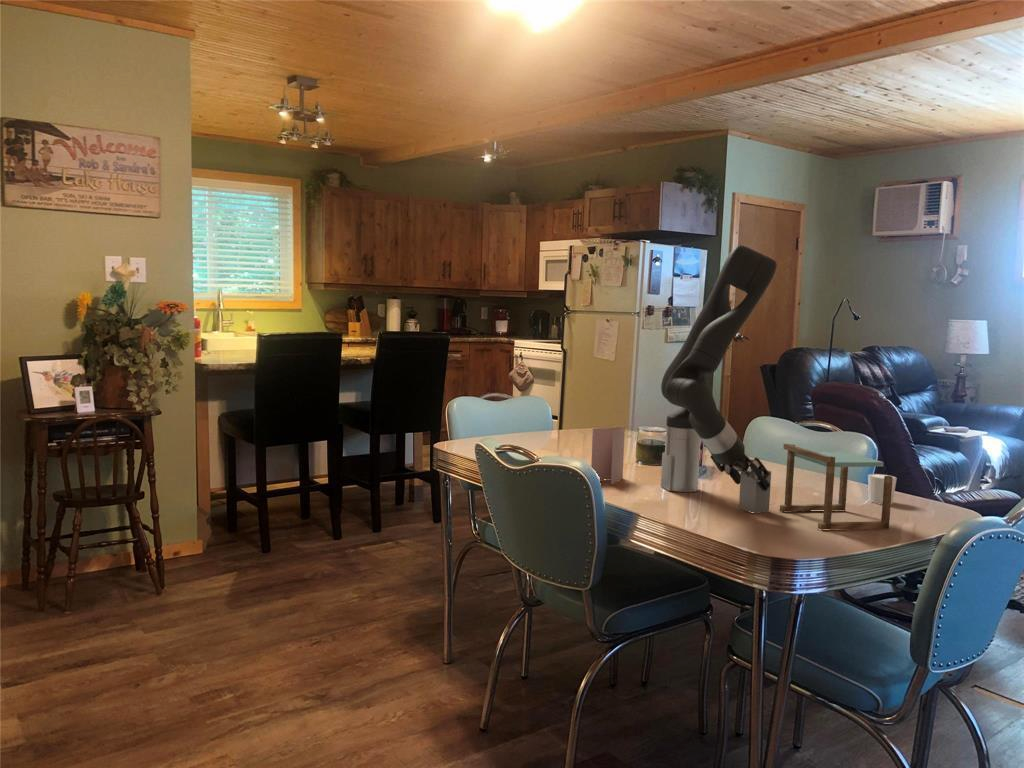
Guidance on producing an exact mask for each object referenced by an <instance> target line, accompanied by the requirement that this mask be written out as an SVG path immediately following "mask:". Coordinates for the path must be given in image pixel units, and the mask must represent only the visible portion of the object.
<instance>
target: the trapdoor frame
mask: <svg viewBox="0 0 1024 768" xmlns="http://www.w3.org/2000/svg"><path fill="white" fill-rule="evenodd" d="M783 450H786V451H787V458H786V473H785V491H784V492H785V493H784V504H779V512H781V511H782V512H781V513H784V512H783V511H811V510H824V511H823V516H822V517H823V518H822V521H821V522H817V529H818V528H819V529H855V530H854V531H862V530H863V529H868V530H889V529H890V520H891V519H890V517H891V508H892V506H891V505H892V504H891V493H892V479H893V477H891V476H892V475H890V476H884V489H883V503H882V505H881V507H882V508H881V516H880V517H881V520H879V521H878V520H876V521H875V520H874V521H870V520H869V521H835V522H834V521H833V522H832V516H833V515H832V513H833V511H832V510H845V511H846V504H847V490H848V477H849V474H848V473H849V467H840V472H839V473H840V475H839V489H838V490H839V491H838V503H833V497H834V483H835V468H836V467H835V457H833V456H826V455H823V454H819V453H816V452H817V451H813V450H809V449H806V448H803V447H800V446H796V444H794V443H793V444H792V443H791V444H789V443H783ZM794 452H795V453H798V454H801V455H804V456H807V457H810V458H813V459H817V460H820V461H823V462H827V467H826V471H825V487H824V499H823V500H824V501H823V503H821V504H820V503H819V504H817V503H816V504H812V503H811V504H793V490H794V489H793V487H794V476H795V475H794V474H795V472H794V471H795V469H794V468H795V458H796V456H794ZM819 529H818V530H819ZM861 529H862V530H861Z"/></svg>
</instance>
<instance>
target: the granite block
mask: <svg viewBox="0 0 1024 768" xmlns="http://www.w3.org/2000/svg"><path fill="white" fill-rule="evenodd" d="M750 470H751V469H750V467H749V468H748V470H747V472H750ZM762 472H763V471H762ZM768 472H769V473H770V474H769V476H768V477H767V481H768V482H769V483H770V487H769V488H768V489H767V491H763V490H762V489H761V487H760V486H759V485H758V483H757V482H756V481H755V480H754V479H753V478H751V477H747V476H746V475H744V474H743V473H742V472H740V474H741V479H740V484H739V496H738V497H739V500H738V510H740V509H742V510H741V511H744V510H746V511H745V512H747V511H750V512H754V513H756V514H758V513H757V512H763V513H765V512H764V511H769V512H770V501H771V499H770V498H771V483H772V482H771V481H772V471H771V470H768ZM753 474H754V475H755V476H756V477H757V475H756V474H755V473H753ZM750 512H749V513H750ZM754 513H753V514H754Z"/></svg>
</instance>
